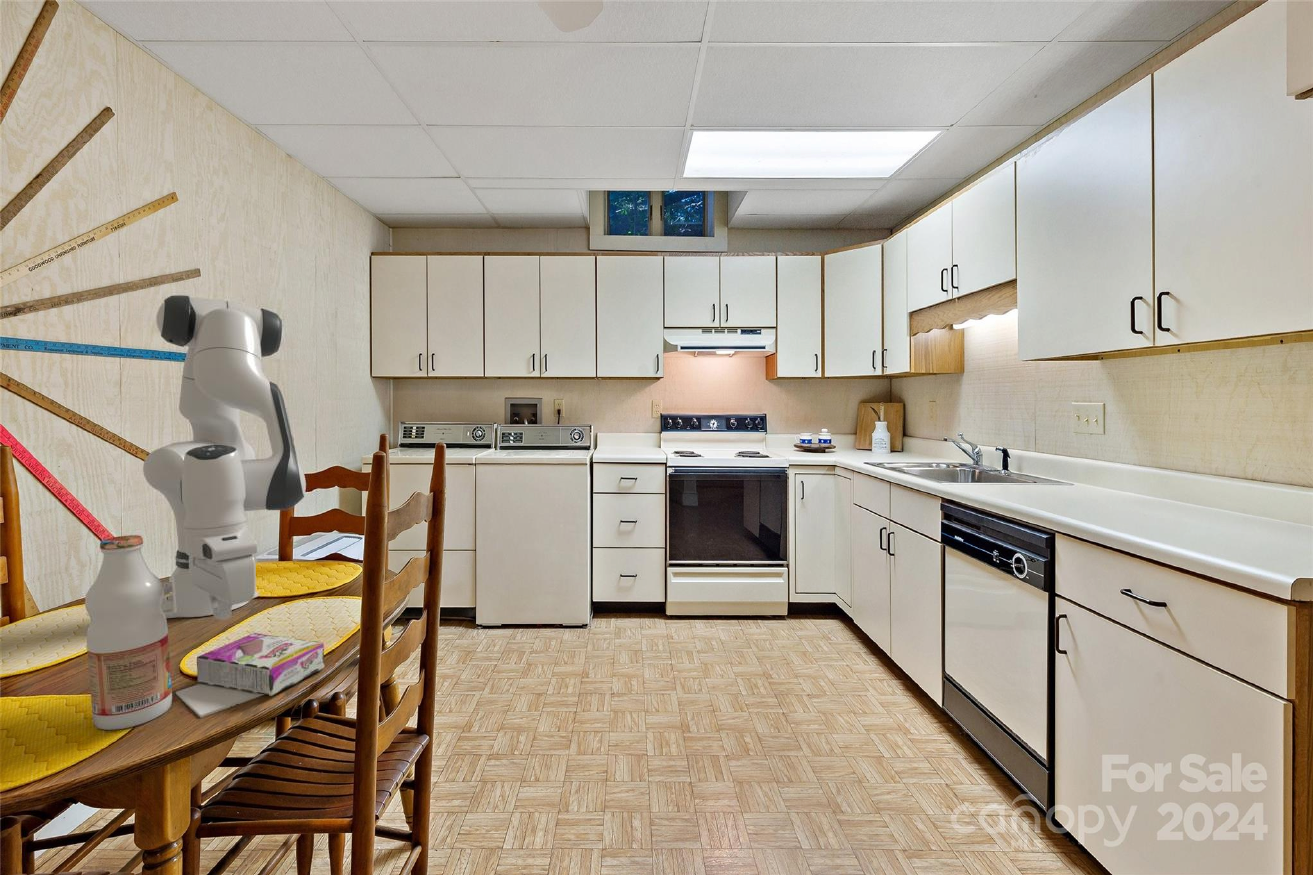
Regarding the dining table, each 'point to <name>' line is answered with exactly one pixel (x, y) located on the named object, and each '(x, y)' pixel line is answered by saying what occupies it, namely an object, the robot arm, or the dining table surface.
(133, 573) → the fruit juice
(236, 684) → the candy bar box
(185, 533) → the robot arm
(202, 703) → the mat
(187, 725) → the dining table surface
